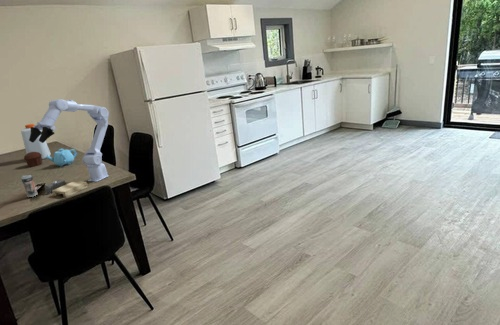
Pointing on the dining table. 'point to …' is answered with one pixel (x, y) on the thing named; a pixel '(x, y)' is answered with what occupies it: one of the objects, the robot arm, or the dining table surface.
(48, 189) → the housing
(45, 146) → the plastic bottle
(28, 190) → the beer can
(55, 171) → the dining table surface
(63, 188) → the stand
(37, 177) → the dining table surface
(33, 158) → the muffin
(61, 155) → the teapot
